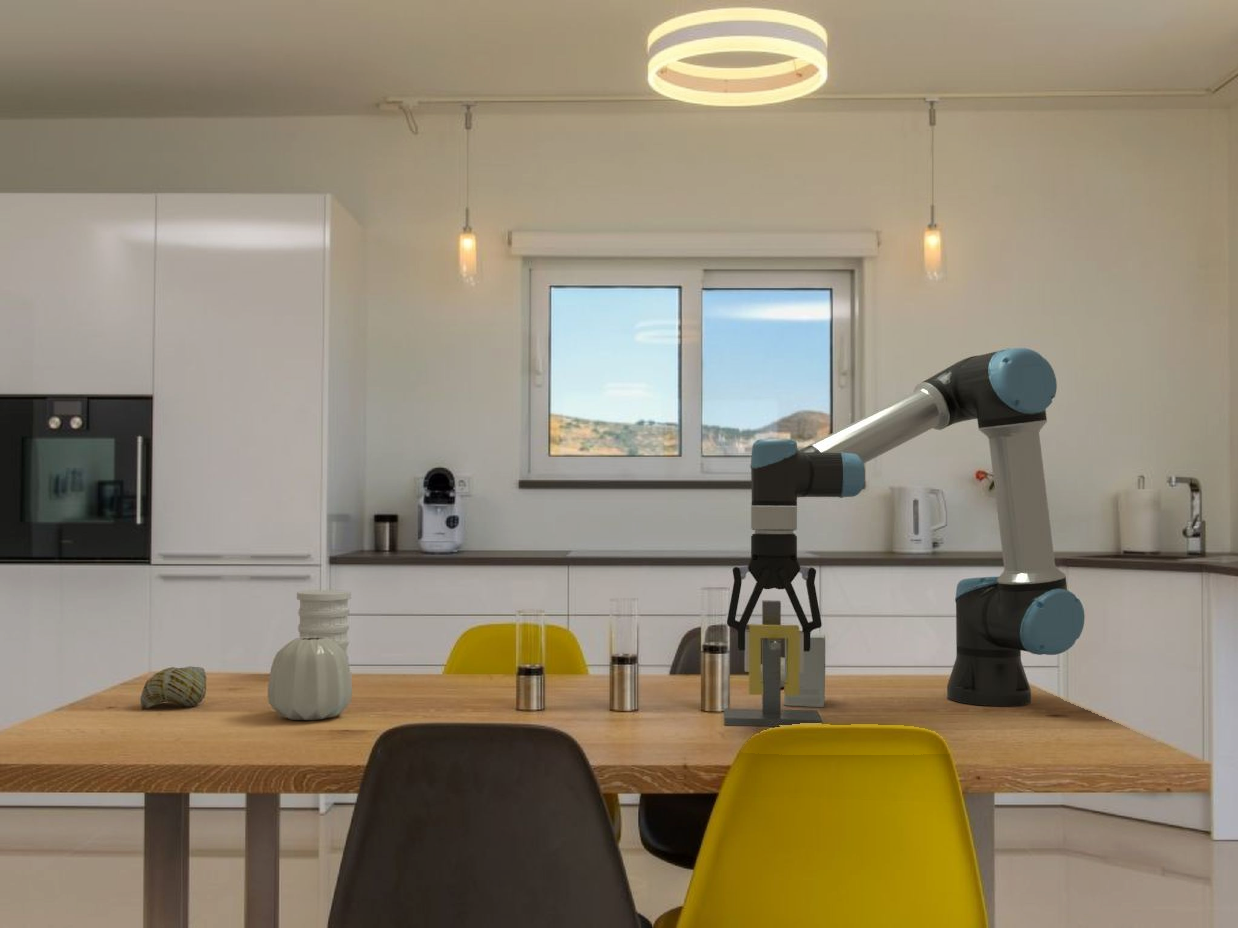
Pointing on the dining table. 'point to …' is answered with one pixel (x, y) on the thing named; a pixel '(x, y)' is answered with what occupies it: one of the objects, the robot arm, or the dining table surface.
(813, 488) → the robot arm
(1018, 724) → the dining table surface
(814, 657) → the supplement box
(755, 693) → the c link
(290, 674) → the vase
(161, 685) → the seashell
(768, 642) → the stand
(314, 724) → the dining table surface
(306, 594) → the decorative container
